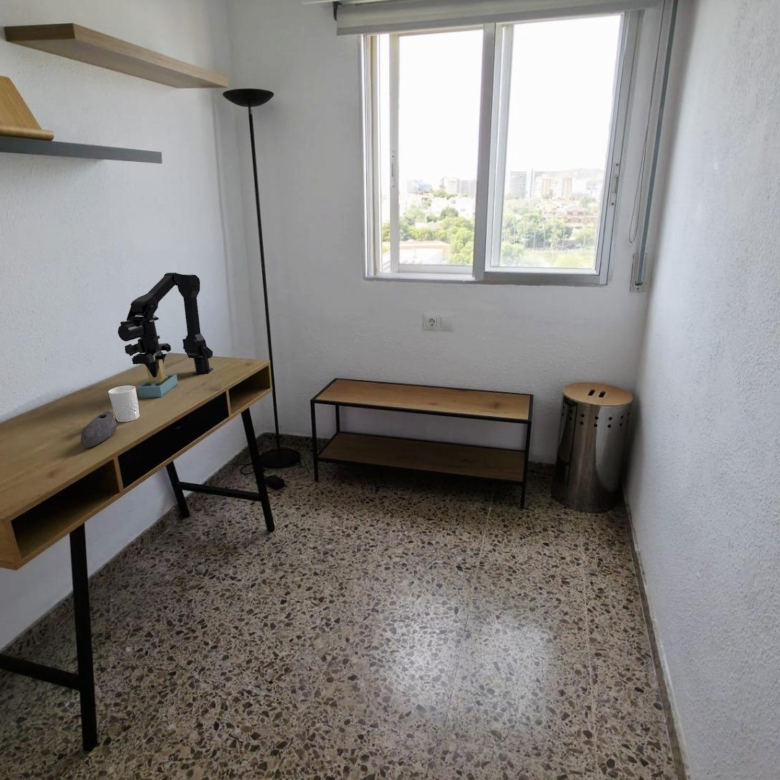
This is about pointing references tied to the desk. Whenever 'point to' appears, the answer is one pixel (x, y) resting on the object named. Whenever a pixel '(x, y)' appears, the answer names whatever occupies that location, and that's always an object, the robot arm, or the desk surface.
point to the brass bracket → (160, 374)
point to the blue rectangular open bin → (158, 387)
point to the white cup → (124, 403)
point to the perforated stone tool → (99, 429)
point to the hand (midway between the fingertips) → (156, 375)
